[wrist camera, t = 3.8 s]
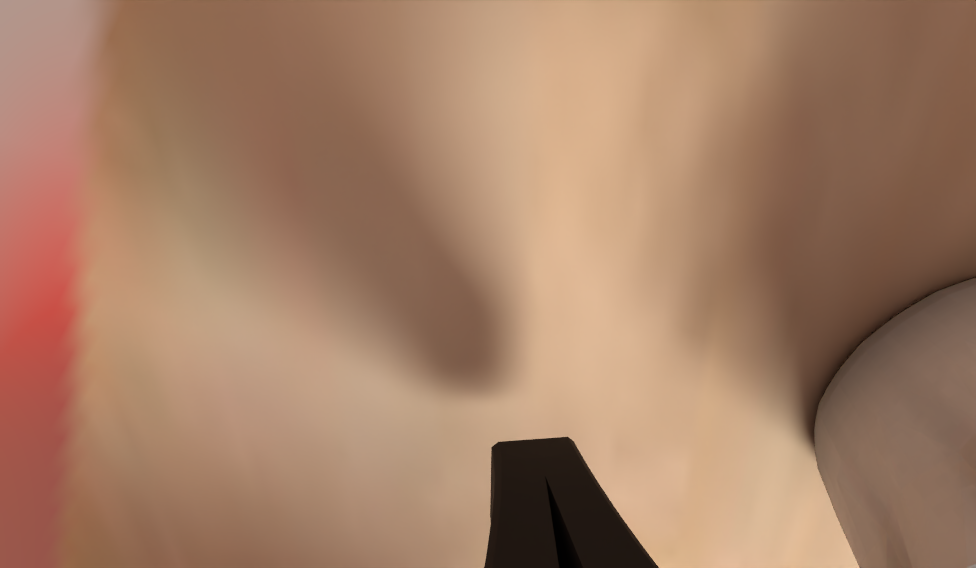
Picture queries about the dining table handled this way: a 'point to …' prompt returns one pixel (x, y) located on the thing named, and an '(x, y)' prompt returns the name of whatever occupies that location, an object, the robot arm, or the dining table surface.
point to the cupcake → (906, 437)
